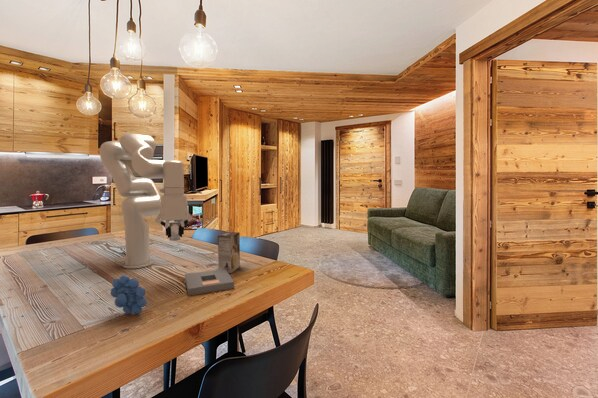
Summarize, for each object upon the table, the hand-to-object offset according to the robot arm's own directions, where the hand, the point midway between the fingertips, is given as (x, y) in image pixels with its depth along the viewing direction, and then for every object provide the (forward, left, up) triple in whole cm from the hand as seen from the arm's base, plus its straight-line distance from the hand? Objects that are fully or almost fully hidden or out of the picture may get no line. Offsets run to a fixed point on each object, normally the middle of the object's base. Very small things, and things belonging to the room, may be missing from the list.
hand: (174, 236), depth 117 cm
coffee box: (+22, +1, -17) cm, 28 cm away
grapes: (-15, -28, -17) cm, 36 cm away
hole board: (+11, -13, -17) cm, 24 cm away
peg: (0, 0, -1) cm, 1 cm away
